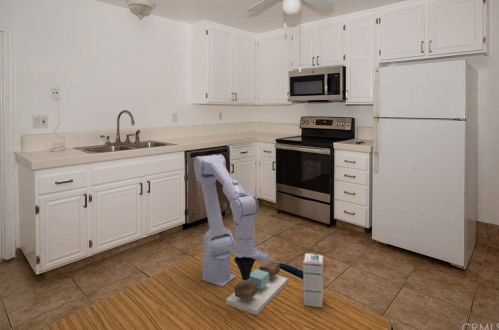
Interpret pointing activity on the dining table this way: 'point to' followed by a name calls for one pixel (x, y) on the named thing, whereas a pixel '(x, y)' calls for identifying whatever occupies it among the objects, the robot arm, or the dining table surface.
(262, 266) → the far walnut button
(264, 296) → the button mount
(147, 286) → the dining table surface
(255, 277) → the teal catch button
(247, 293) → the brown ledged cube
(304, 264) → the syrup box
